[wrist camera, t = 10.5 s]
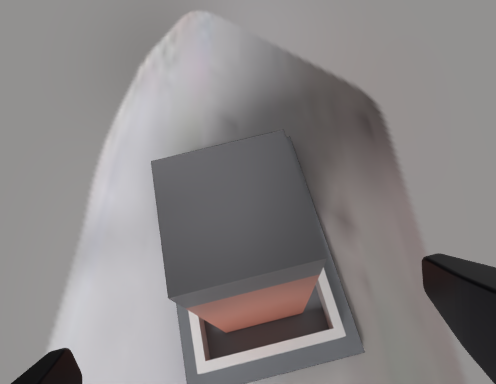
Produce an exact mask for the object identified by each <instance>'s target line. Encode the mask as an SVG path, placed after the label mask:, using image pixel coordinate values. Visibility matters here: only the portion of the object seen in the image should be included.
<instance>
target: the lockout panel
mask: <svg viewBox="0 0 496 384" xmlns="http://www.w3.org/2000/svg"><path fill="white" fill-rule="evenodd" d="M286 139H287V141H288V144H289V147H290V150H291V153H292V156H293V159H294V162H295V165H296V168H297V170H298V173H299V176H300V179H301V182H302V185H303V188H304V191H305V194H306V197H307V199H308V202H309V205H310V208H311V211H312V214H313V217H314V220H315V223H316V226H317V228H318V231H319V234H320V237H321V240H322V243H323V246H324V249H325V252H326V255H327V257H328V258H327V260H326V263H325V265H324V267H323V269H322V271H321V274H320V276H319V278H318V280H317V282H316V285H315V287H314V289H313V291H312V293H311V296H310V298H309V300H308V302H307V304H306V307H305V309H304V311H303V313H302V314H298V315H294V316H290V317H286V318H282V319H278V320H275V321H271V322H267V323H263V324H259V325H255V326H251V327H247V328H244V329H240V330H236V331H232V332H228V333H225V332H224V331H222V330H220V329H219V328H217V327H215V326H214V325H212V324H210V323H209V322H207V321H205V320H204V319H202V318H200V317H199V316H197V315H195V314H194V313H192V312H190V311H189V310H187V309H185V308H184V307H182V306H180V305H179V304H177V303H176V306H177V314H178V321H179V329H180V336H181V344H182V351H183V359H184V366H185V374H186V381H187V384H245V383H249V382H253V381H257V380H261V379H264V378H268V377H272V376H276V375H280V374H284V373H288V372H291V371H295V370H299V369H303V368H307V367H311V366H314V365H318V364H322V363H326V362H330V361H334V360H338V359H341V358H345V357H349V356H353V355H357V354H361V353H364V352H365V351H364V348H363V345H362V343H361V340H360V337H359V334H358V331H357V328H356V325H355V322H354V320H353V317H352V314H351V311H350V308H349V305H348V302H347V299H346V297H345V294H344V291H343V288H342V285H341V282H340V279H339V276H338V274H337V271H336V268H335V265H334V262H333V259H332V256H331V253H330V251H329V248H328V245H327V242H326V239H325V236H324V233H323V230H322V228H321V225H320V222H319V219H318V216H317V213H316V210H315V207H314V205H313V202H312V199H311V196H310V193H309V190H308V187H307V184H306V182H305V179H304V176H303V173H302V170H301V167H300V164H299V161H298V159H297V156H296V153H295V150H294V147H293V144H292V141H291V138H290V137H286Z"/></svg>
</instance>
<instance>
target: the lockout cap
mask: <svg viewBox="0 0 496 384" xmlns="http://www.w3.org/2000/svg"><path fill="white" fill-rule="evenodd" d="M151 166H152V174H153V182H154V190H155V198H156V205H157V213H158V221H159V229H160V237H161V245H162V253H163V261H164V269H165V277H166V285H167V293H168V298H169V299H170V300H172V301H174V302H175V303H177V304H179V305H180V306H182V307H184V308H185V309H187V310H189V311H190V312H192V313H194V314H195V315H197V316H199V317H200V318H202V319H204V320H205V321H207V322H209V323H210V324H212V325H214V326H215V327H217V328H219V329H220V330H222V331H224V332H225V333H228V332H232V331H236V330H240V329H244V328H247V327H251V326H255V325H259V324H263V323H267V322H271V321H275V320H278V319H282V318H286V317H290V316H294V315H298V314H302V313H303V311H304V309H305V307H306V304H307V302H308V300H309V298H310V296H311V293H312V291H313V289H314V287H315V285H316V282H317V280H318V278H319V276H320V274H321V271H322V269H323V267H324V265H325V263H326V260H327V258H328V257H327V255H326V252H325V249H324V246H323V243H322V240H321V237H320V234H319V231H318V228H317V226H316V223H315V220H314V217H313V214H312V211H311V208H310V205H309V202H308V199H307V197H306V194H305V191H304V188H303V185H302V182H301V179H300V176H299V173H298V170H297V168H296V165H295V162H294V159H293V156H292V153H291V150H290V147H289V144H288V141H287V139H286V136H285V133H284V130H279V131H275V132H271V133H266V134H262V135H258V136H254V137H250V138H246V139H242V140H237V141H233V142H229V143H225V144H221V145H217V146H212V147H208V148H204V149H200V150H196V151H192V152H188V153H183V154H179V155H175V156H171V157H167V158H163V159H158V160H154V161H151Z"/></svg>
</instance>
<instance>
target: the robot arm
mask: <svg viewBox="0 0 496 384" xmlns="http://www.w3.org/2000/svg"><path fill="white" fill-rule="evenodd" d="M422 274H423V286H424V290H425V292H426V294H427V296H428V297H429V299H430V300H431V301H432V303H433V304H434V306H435V307H436V309H437V310H438V311H439V313H440V314H441V316H442V317H443V319H444V320H445V322H446V323H447V324H448V326H449V327H450V329H451V330H452V332H453V333H454V335H455V336H456V337H457V339H458V340H459V341H460V343H461V344H462V346H463V347H464V348H465V349H466V350H467V352H468V353H469V354H470V355H471V357H472V358H473V359H474V360H475V361H476V362H477V364H478V365H479V366H480V367H481V368H482V369H483V370H484V372H485V373H486V374H487V375H488V376H489V378H490V379H491V380H492V381H493V382H494V383H495V384H496V268H495V267H491V266H487V265H484V264H480V263H475V262H472V261H468V260H463V259H460V258H456V257H452V256H448V255H444V254H434V255H430V256H426V257H424V258H423V259H422ZM11 384H82V374H81V371H80V369H79V367H78V365H77V363H76V360H75V358H74V356H73V354H72V352H71V350H69V349H68V348H62V349H59V350H55V351H51V352H49V353H48V354H46V355H45V356H44V357H43V358H41V359H40V360H39V361H38V362H37V363H36V364H34V365H33V366H32V367H31V368H29V369H28V370H27V371H26V372H24V373H23V374H22V375H21V376H20V377H18V378H17V379H16V380H15V381H14V382H12V383H11Z"/></svg>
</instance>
